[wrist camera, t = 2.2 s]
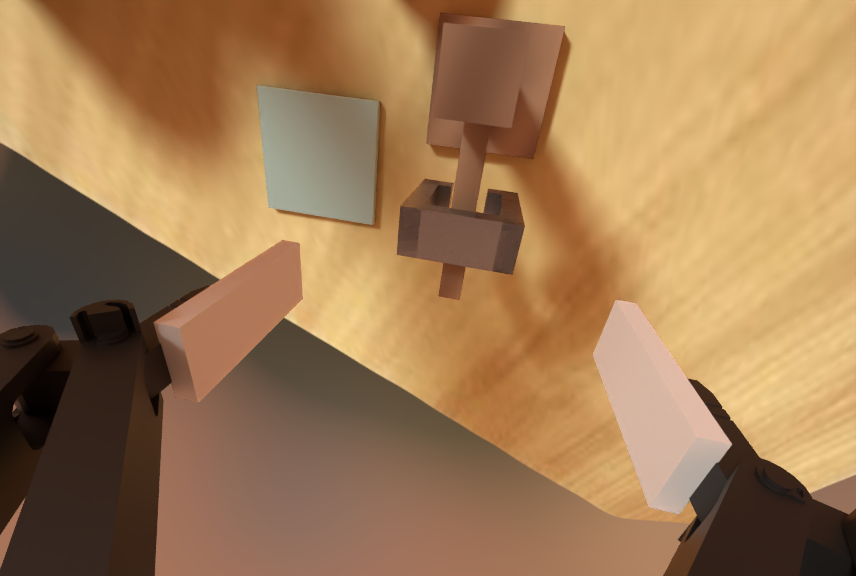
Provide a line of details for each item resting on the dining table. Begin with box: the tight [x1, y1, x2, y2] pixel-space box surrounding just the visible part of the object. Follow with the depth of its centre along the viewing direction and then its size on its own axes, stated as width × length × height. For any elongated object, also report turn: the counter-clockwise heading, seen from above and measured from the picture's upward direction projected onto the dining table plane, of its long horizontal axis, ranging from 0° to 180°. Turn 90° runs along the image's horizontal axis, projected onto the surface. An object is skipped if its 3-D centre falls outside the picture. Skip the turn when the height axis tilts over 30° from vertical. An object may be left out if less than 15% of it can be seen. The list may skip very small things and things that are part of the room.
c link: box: [397, 179, 525, 275], centre depth 24 cm, size 7×3×8 cm, turn 83°
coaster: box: [257, 85, 380, 225], centre depth 37 cm, size 12×12×1 cm
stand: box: [426, 13, 565, 300], centre depth 24 cm, size 10×18×22 cm, turn 173°
